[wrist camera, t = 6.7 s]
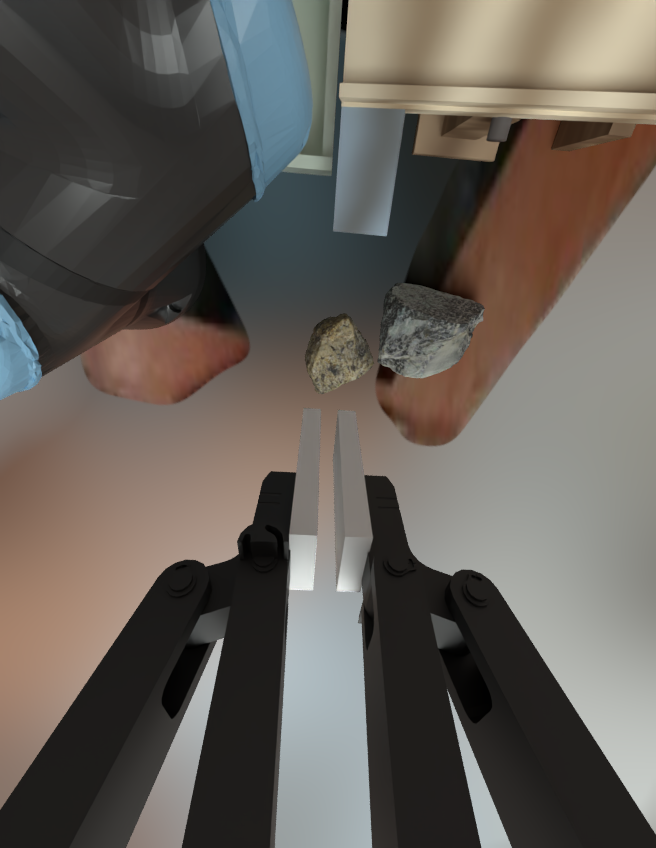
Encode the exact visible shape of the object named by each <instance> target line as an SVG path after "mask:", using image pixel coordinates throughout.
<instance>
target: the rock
mask: <svg viewBox="0 0 656 848" xmlns="http://www.w3.org/2000/svg"><path fill="white" fill-rule="evenodd" d="M305 361H306V366H307V371H308V374H309V375H310V378H311V379H312V381H313V384H314V386H315V391H316V392H318V393H320V394H324V393H326V392H329V391H330V390H334V389H336V388H338V387H339V386H340V385H341V384H346V383H348V382H349V381H352V380H355V379H358V378H359V377H361V376H362V375H364V374H365V373H366V372H367V371H368V370H369V369H371V367H372V365H373V364H374V362H373V357H372V355H371V353H370V349H369V346H368V344H367V342H366V339H364V338H363V337H362V335H361V333H360V331H359V330H357V327H356V325H355V324H354V322H353V320H352V319H351V317H349V316H348V315H347V314H340V315H339V316H337V317H329V318H327V319H324V320H322V321H321V322H320V323H318V324H317V325H316V327H315V328H314V333H313V334H312V336H311V339H310V341H309V344H308V349H307V351H306V355H305Z"/></svg>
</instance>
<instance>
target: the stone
mask: <svg viewBox="0 0 656 848" xmlns="http://www.w3.org/2000/svg"><path fill="white" fill-rule="evenodd" d="M484 309H485V308H484V307H483V305H481V304H479V303H477V302H474V301H473V300H470V299H463V298H461V297H460V296H455V295H450V294H448V293H444V292H440V291H437V290H433V289H431V288H428V287H424V286H421V285H414V284H407V283H397V284H395V286H394V287H392V288H391V289H390V290H389V292H388V293H387V294H386V297H385V301H384V316H383V318H382V322H381V333H380V348H379V358H378V363H381V364H382V365H383V366H387V367H390V368H391V369H392V370H393V371H394V372H396V373H398V374H400V375H403V376H406V377H413V378H425V377H428V376H431V375H433V374H437V373H439V372H442V371H444V370H447V369H449V368H451V367H452V366H453V365H454V364H456V363H457V362H458V361H459V360H460V359H461V357H462V356H463V354H464V352H465V350H466V349H467V348H468V347H469V344H470V339H471V338H472V336H473V334H472V333H473V331H474V328H475V327H476V325H477V324H478V323H479V322H481V321H483V311H484Z"/></svg>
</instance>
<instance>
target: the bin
mask: <svg viewBox="0 0 656 848" xmlns="http://www.w3.org/2000/svg"><path fill="white" fill-rule="evenodd" d="M292 2H293V5H294V9H295V13H296V17H297V21H298V24H299V29H300V33H301V37H302V41H303V45H304V50H305V54H306V59H307V63H308V69H309V74H310V81H311V88H312V97H313V108H312V123H311V127H310V132H309V136H308V140H307V142H306V144H305V146H304V147H303V149H302V151H301V152H300V153H299V154H298V156H297V157H296V158H295V159H294V160H293V161H292V162H291V163H290V164H289V165H288V166H287V167H286V168H285V169H284V170H283V171H282V172H290V173H301V174H312V175H323V176H331V174H332V161H333V142H334V127H335V111H336V94H337V77H338V62H339V45H340V29H341V13H342V0H292Z"/></svg>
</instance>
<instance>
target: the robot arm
mask: <svg viewBox="0 0 656 848" xmlns="http://www.w3.org/2000/svg"><path fill="white" fill-rule="evenodd" d="M312 108H313V97H312V88H311V81H310V74H309V69H308V63H307V59H306V54H305V50H304V45H303V41H302V37H301V33H300V29H299V24H298V21H297V17H296V13H295V9H294V5H293V2H292V0H0V400H1V399H3V398H5V397H7V396H9V395H12V394H14V393H16V392H20V391H24V390H29V389H31V388H32V387H34V386H35V385H37V383H38V382H39V380H40V378H41V377H42V376H44V375H46V374H47V373H49V372H51V371H53V370H54V369H56V368H58V367H59V366H61V365H63V364H65V363H66V362H68V361H70V360H71V359H73V358H75V357H76V356H78V355H80V354H82V353H83V352H85V351H87V350H88V349H90V348H92V347H93V346H95V345H97V344H99V343H100V342H102V341H104V340H105V339H107V338H109V337H110V336H112V335H114V334H116V333H117V332H119V331H121V330H122V329H153V328H158V327H161V326H164V325H167V324H169V323H171V322H173V321H175V320H176V319H178V318H179V317H180V316H182V315H183V314H184V313H186V312H187V311H188V310H189V309H190V308H191V307H192V306H193V305H194V303H195V302H196V301H197V299H198V297H199V295H200V293H201V291H202V288H203V285H204V281H205V275H206V254H205V248H204V242H205V241H206V240H207V239H208V238H209V237H210V236H212V235H213V234H214V233H215V232H216V231H217V230H218V229H219V228H220V227H221V226H223V225H224V224H225V223H226V222H227V221H228V220H229V219H230V218H232V217H233V216H234V215H235V214H236V213H237V212H238V211H239V210H240V209H242V208H243V207H244V206H245V205H246V204H247V203H248V202H249V201H250V200H251V199H253V201H254V202H257V201H258V200H260V199H261V197H262V196H263V194H264V190H265V187H266V186H267V185H268V184H269V183H270V182H271V181H272V180H273V179H274V178H275V177H276V176H277V175H278V174H279V173H280V172H282V171H283V170H284V169H285V168H286V167H287V166H288V165H289V164H290V163H291V162H292V161H293V160H294V159H295V158H296V157H297V156H298V154H299V153H300V152H301V151H302V149H303V147H304V146H305V144H306V142H307V140H308V136H309V132H310V127H311V123H312ZM320 427H321V409H311V408H304V411H303V419H302V428H301V436H300V445H299V454H298V463H297V472H296V473H293V472H291V473H290V472H273V471H271V472H270V473H269V474H268V475H267V477H266V478H265V479H264V480H263V482H262V486H261V491H260V495H259V499H258V504H257V508H256V512H255V516H254V521H253V524H252V525H250V526H248V527H247V528H246V529H245V530H244V531H243V532H242V533H241V534H240V536H239V538H238V541H237V543H238V550H239V554H238V555H237V556H236V557H234V558H232V559H231V560H228V561H225V562H222V563H219V564H215V565H211V566H207V567H205V566H204V564H203V563H200V562H198V561H196V560H184V561H180V562H177V563H175V564H173V565H171V566H170V567H168V568H167V569H165V570H164V571H163V573H162V574H161V575H160V576H159V577H158V578H157V580H156V581H155V583H154V584H153V586H152V587H151V589H150V590H149V591H148V593H147V594H146V596H145V597H144V599H143V600H142V602H141V603H140V605H139V606H138V608H137V609H136V611H135V612H134V614H133V615H132V617H131V618H130V619H129V621H128V623H127V624H126V626H125V627H124V628H123V630H122V631H121V633H120V634H119V636H118V637H117V639H116V640H115V642H114V643H113V645H112V646H111V648H110V649H109V650H108V652H107V654H106V655H105V656H104V658H103V659H102V661H101V662H100V664H99V665H98V667H97V668H96V670H95V671H94V673H93V674H92V676H91V677H90V678H89V680H88V682H87V683H86V684H85V686H84V687H83V689H82V690H81V692H80V693H79V695H78V696H77V698H76V699H75V701H74V702H73V704H72V705H71V706H70V708H69V709H68V711H67V713H66V714H65V715H64V717H63V719H62V720H61V721H60V723H59V724H58V726H57V727H56V729H55V730H54V732H53V733H52V734H51V736H50V738H49V739H48V741H47V742H46V743H45V745H44V746H43V748H42V749H41V751H40V752H39V754H38V755H37V757H36V758H35V760H34V761H33V763H32V764H31V765H30V767H29V768H28V770H27V771H26V773H25V774H24V776H23V777H22V779H21V780H20V782H19V783H18V785H17V786H16V788H15V789H14V791H13V792H12V793H11V795H10V796H9V798H8V799H7V801H6V803H5V804H4V805H3V807H2V808H1V810H0V848H126V846H127V844H128V842H129V840H130V837H131V835H132V833H133V830H134V828H135V826H136V824H137V821H138V819H139V817H140V814H141V812H142V810H143V808H144V805H145V803H146V801H147V798H148V796H149V794H150V792H151V789H152V787H153V785H154V783H155V780H156V778H157V776H158V774H159V771H160V769H161V767H162V764H163V762H164V760H165V758H166V755H167V753H168V751H169V749H170V746H171V744H172V742H173V739H174V737H175V735H176V733H177V730H178V728H179V726H180V723H181V721H182V719H183V717H184V714H185V712H186V710H187V708H188V705H189V703H190V701H191V698H192V696H193V694H194V692H195V689H196V687H197V685H198V682H199V680H200V678H201V676H202V673H203V671H204V669H205V667H206V664H207V662H208V660H209V657H210V655H211V653H212V650H213V648H214V646H215V644H216V642H217V640H218V639H221V638H224V641H223V646H222V651H221V656H220V661H219V666H218V671H217V676H216V681H215V686H214V691H213V696H212V701H211V705H210V710H209V715H208V720H207V726H206V730H205V735H204V740H203V745H202V750H201V755H200V760H199V765H198V770H197V775H196V780H195V785H194V790H193V795H192V800H191V805H190V810H189V815H188V820H187V825H186V829H185V835H184V840H183V844H182V848H275V830H276V812H277V795H278V777H279V760H280V742H281V725H282V706H283V688H284V672H285V655H286V637H287V619H288V596H289V590H291V589H292V590H313V581H314V570H315V558H316V545H317V531H318V529H317V528H318V497H319V496H318V495H319V462H320V461H319V460H320ZM333 472H334V511H335V512H334V513H335V550H336V551H335V553H336V591H345V592H360V591H361V586H362V590H363V603H362V607H361V611H360V615H359V621H358V623H362V636H363V659H364V677H365V678H364V681H365V702H366V723H367V745H368V766H369V788H370V810H371V830H372V848H481V844H480V839H479V835H478V830H477V825H476V821H475V816H474V812H473V807H472V802H471V798H470V793H469V789H468V784H467V779H466V775H465V770H464V766H463V761H462V756H461V752H460V747H459V742H458V739H457V733H456V729H455V724H454V720H453V715H452V710H451V706H450V701H449V696H448V692H449V694H450V697H451V699H452V702H453V704H454V706H455V709H456V712H457V714H458V716H459V719H460V721H461V724H462V726H463V729H464V731H465V733H466V736H467V738H468V741H469V743H470V746H471V748H472V751H473V753H474V756H475V758H476V760H477V763H478V765H479V768H480V770H481V773H482V775H483V778H484V780H485V783H486V785H487V787H488V790H489V792H490V795H491V797H492V799H493V802H494V805H495V807H496V809H497V812H498V814H499V817H500V819H501V821H502V824H503V827H504V829H505V832H506V834H507V836H508V839H509V841H510V844H511V846H512V848H656V834H655V833H654V831H653V830H652V828H651V827H650V825H649V823H648V822H647V820H646V819H645V817H644V816H643V814H642V813H641V811H640V810H639V808H638V806H637V805H636V803H635V802H634V800H633V799H632V797H631V795H630V794H629V792H628V791H627V789H626V788H625V786H624V785H623V783H622V782H621V780H620V778H619V777H618V775H617V774H616V772H615V771H614V769H613V767H612V766H611V764H610V763H609V762H608V760H607V759H606V757H605V755H604V754H603V752H602V750H601V749H600V747H599V746H598V744H597V743H596V741H595V740H594V738H593V737H592V735H591V733H590V732H589V731H588V729H587V727H586V726H585V724H584V723H583V721H582V719H581V718H580V717H579V715H578V713H577V712H576V710H575V708H574V707H573V705H572V704H571V702H570V701H569V699H568V698H567V696H566V694H565V693H564V691H563V690H562V688H561V687H560V685H559V684H558V682H557V680H556V679H555V678H554V676H553V674H552V673H551V671H550V670H549V668H548V667H547V665H546V663H545V662H544V661H543V659H542V657H541V656H540V654H539V652H538V651H537V649H536V648H535V646H534V645H533V643H532V642H531V640H530V639H529V637H528V636H527V634H526V632H525V631H524V629H523V628H522V626H521V625H520V623H519V621H518V620H517V618H516V617H515V615H514V614H513V612H512V611H511V609H510V608H509V606H508V604H507V603H506V601H505V600H504V598H503V597H502V595H501V593H500V592H499V590H498V589H497V588H496V587H495V585H494V584H493V583H492V582H491V581H490V580H489V579H488V578H486V577H485V576H484V575H482V574H481V573H478V572H475V571H473V570H460V571H458V572H456V573H455V574H454V575H453V576H450V575H448V574H445V573H442V572H439V571H436V570H433V569H431V568H429V567H427V566H425V565H424V564H422V563H421V562H419V561H418V560H417V558H416V557H415V556H414V555H413V554H412V552H411V551H410V548H409V546H408V542H407V538H406V534H405V530H404V525H403V522H402V517H401V513H400V510H399V505H398V501H397V497H396V493H395V488H394V486H393V485H392V483H391V482H390V481H389V479H388V478H387V477H386V476H367V475H364V471H363V464H362V457H361V449H360V442H359V435H358V428H357V420H356V414H355V411H345V410H338V416H337V426H336V435H335V445H334V454H333ZM447 689H448V692H447Z"/></svg>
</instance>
